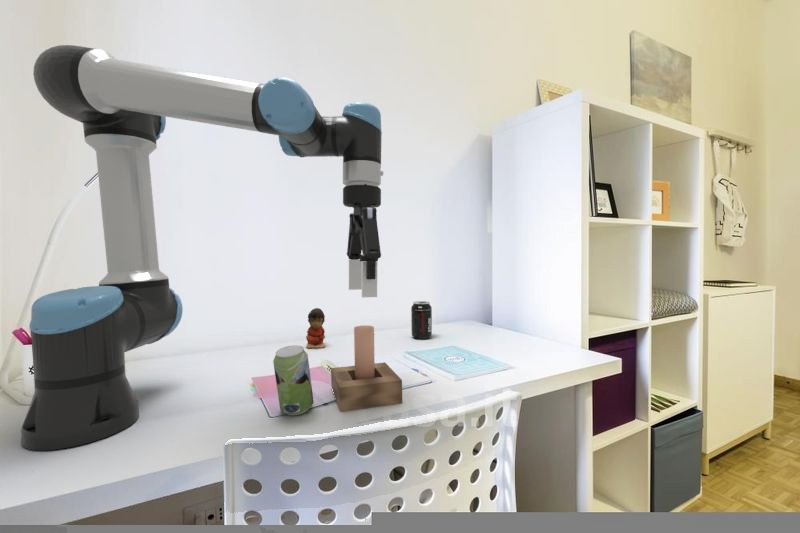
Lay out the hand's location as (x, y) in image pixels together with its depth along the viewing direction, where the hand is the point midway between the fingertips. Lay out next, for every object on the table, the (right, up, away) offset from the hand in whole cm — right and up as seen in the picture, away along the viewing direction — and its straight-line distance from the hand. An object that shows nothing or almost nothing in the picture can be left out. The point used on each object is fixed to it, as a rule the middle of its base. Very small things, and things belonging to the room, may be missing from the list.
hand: (361, 293), depth 75 cm
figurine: (-18, -20, +40) cm, 48 cm away
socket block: (+1, -21, +1) cm, 21 cm away
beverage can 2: (+15, -19, +51) cm, 56 cm away
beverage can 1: (-12, -22, -6) cm, 25 cm away
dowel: (+1, -21, +1) cm, 21 cm away
